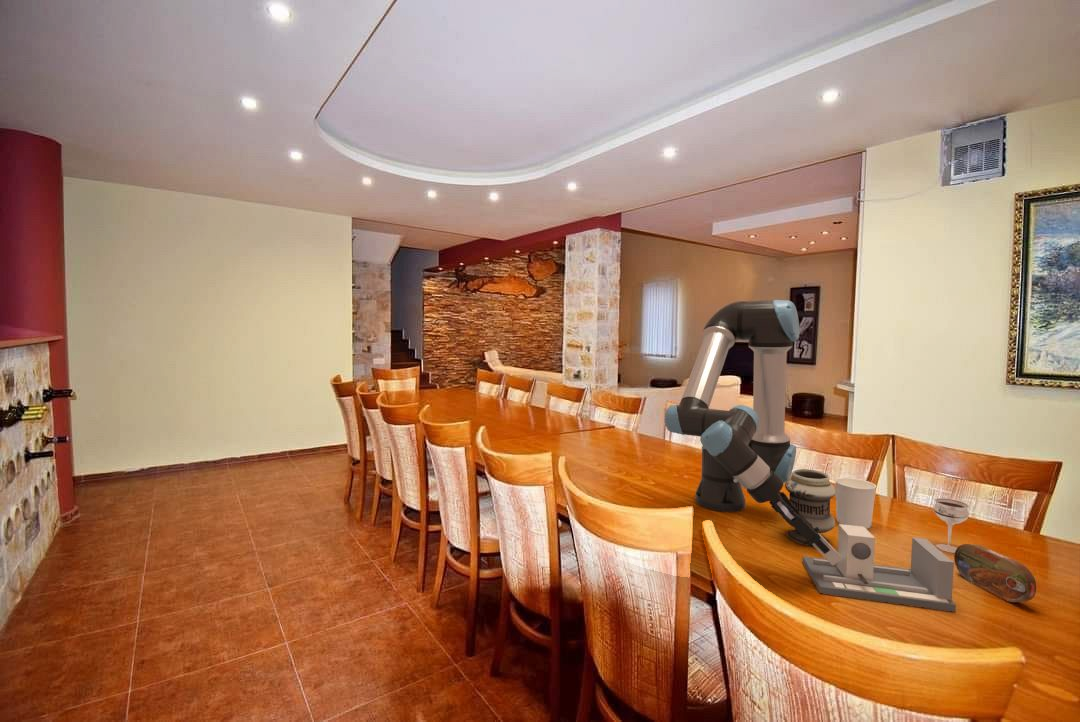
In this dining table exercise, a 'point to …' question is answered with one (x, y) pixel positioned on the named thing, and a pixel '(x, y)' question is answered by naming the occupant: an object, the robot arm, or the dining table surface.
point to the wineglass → (950, 517)
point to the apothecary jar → (811, 501)
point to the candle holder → (854, 501)
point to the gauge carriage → (856, 552)
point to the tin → (995, 573)
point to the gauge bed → (894, 579)
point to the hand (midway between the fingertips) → (836, 560)
